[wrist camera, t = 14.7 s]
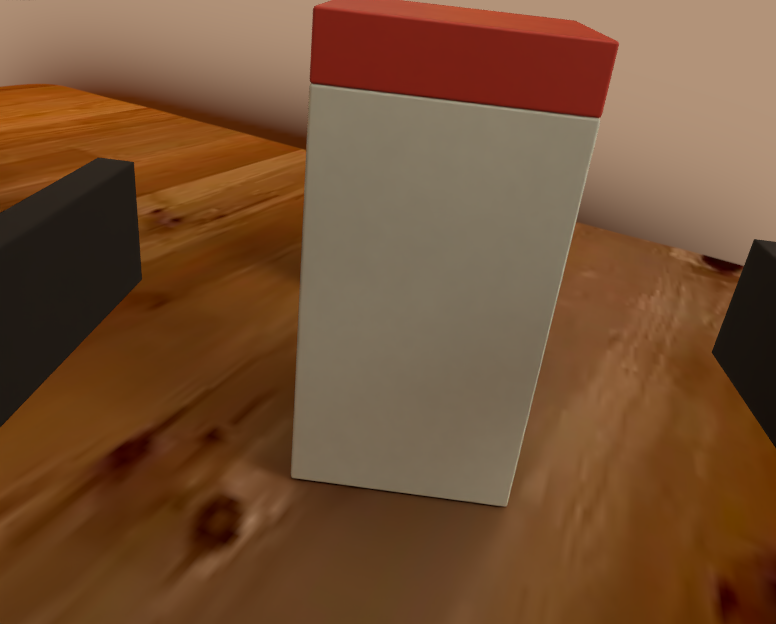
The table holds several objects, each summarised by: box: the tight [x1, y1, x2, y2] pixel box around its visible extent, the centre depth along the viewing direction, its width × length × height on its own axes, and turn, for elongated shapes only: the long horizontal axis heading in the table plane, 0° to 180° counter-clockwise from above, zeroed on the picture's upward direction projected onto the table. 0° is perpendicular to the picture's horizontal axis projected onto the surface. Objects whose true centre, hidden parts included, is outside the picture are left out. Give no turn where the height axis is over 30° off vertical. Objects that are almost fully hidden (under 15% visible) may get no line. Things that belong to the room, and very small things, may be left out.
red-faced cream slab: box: [291, 0, 619, 507], centre depth 20 cm, size 13×6×13 cm
